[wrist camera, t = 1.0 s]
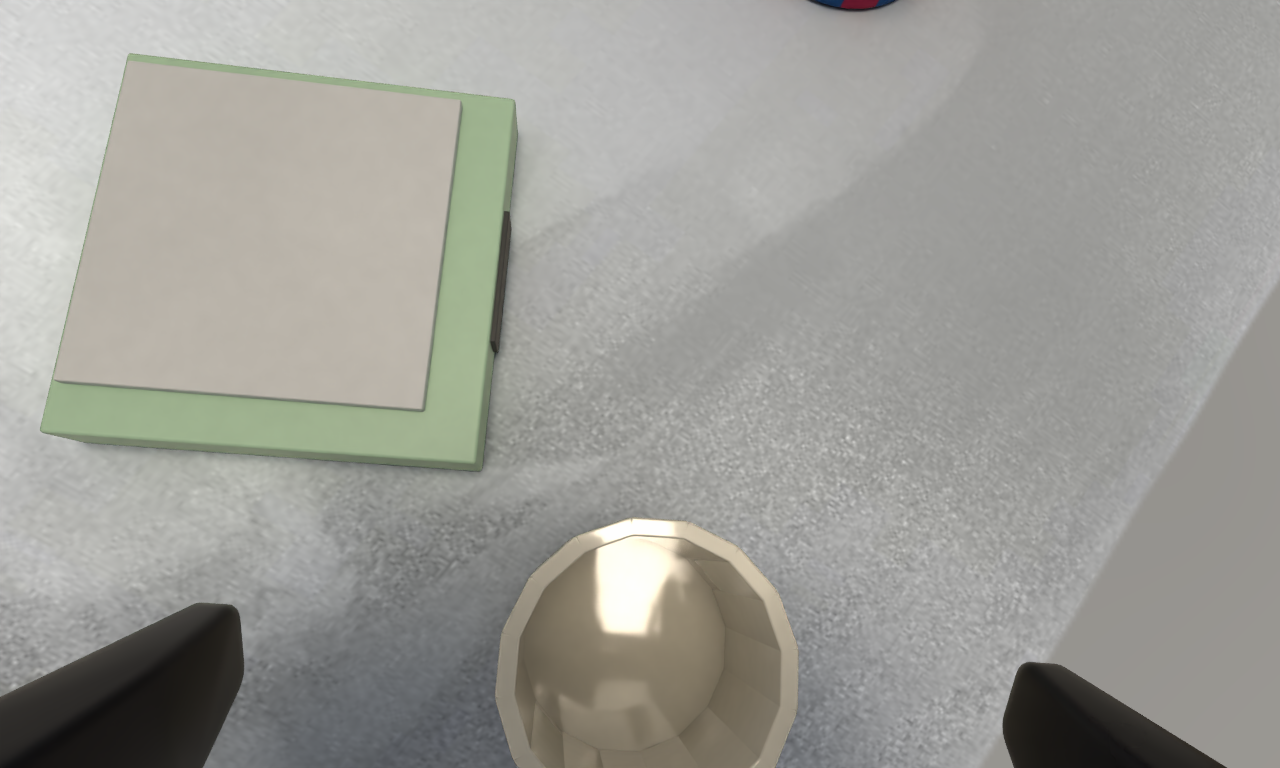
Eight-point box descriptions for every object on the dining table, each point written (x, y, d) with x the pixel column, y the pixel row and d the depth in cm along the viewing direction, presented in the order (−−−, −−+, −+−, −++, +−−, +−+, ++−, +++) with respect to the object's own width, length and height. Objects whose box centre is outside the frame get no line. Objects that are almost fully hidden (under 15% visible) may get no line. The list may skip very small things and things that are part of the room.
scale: (487, 472, 23) (480, 463, 20) (84, 443, 21) (26, 430, 19) (522, 134, 25) (520, 91, 23) (161, 92, 24) (119, 42, 21)
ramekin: (729, 765, 22) (796, 844, 16) (500, 757, 21) (480, 836, 15) (737, 534, 23) (801, 528, 17) (522, 519, 22) (512, 508, 17)
